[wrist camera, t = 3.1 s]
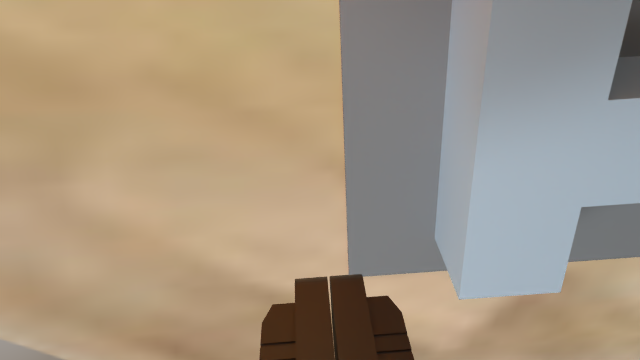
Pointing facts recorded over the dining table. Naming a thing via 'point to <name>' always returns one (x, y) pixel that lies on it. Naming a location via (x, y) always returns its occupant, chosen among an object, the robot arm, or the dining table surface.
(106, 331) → the dining table surface
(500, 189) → the t block
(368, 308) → the robot arm
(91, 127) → the dining table surface
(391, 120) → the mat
